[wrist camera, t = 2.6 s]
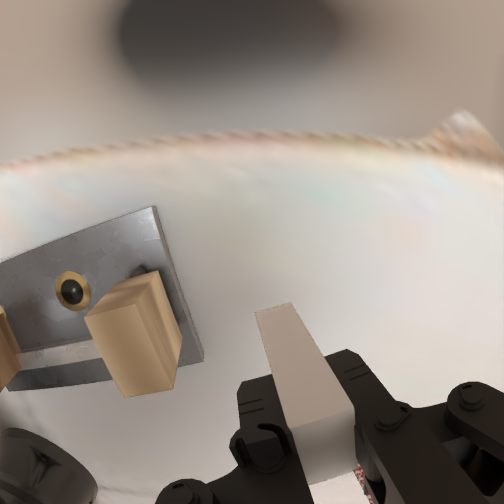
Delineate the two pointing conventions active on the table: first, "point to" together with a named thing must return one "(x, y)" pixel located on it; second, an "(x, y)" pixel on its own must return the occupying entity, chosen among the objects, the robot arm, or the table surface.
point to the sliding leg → (137, 334)
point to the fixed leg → (7, 353)
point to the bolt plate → (83, 298)
